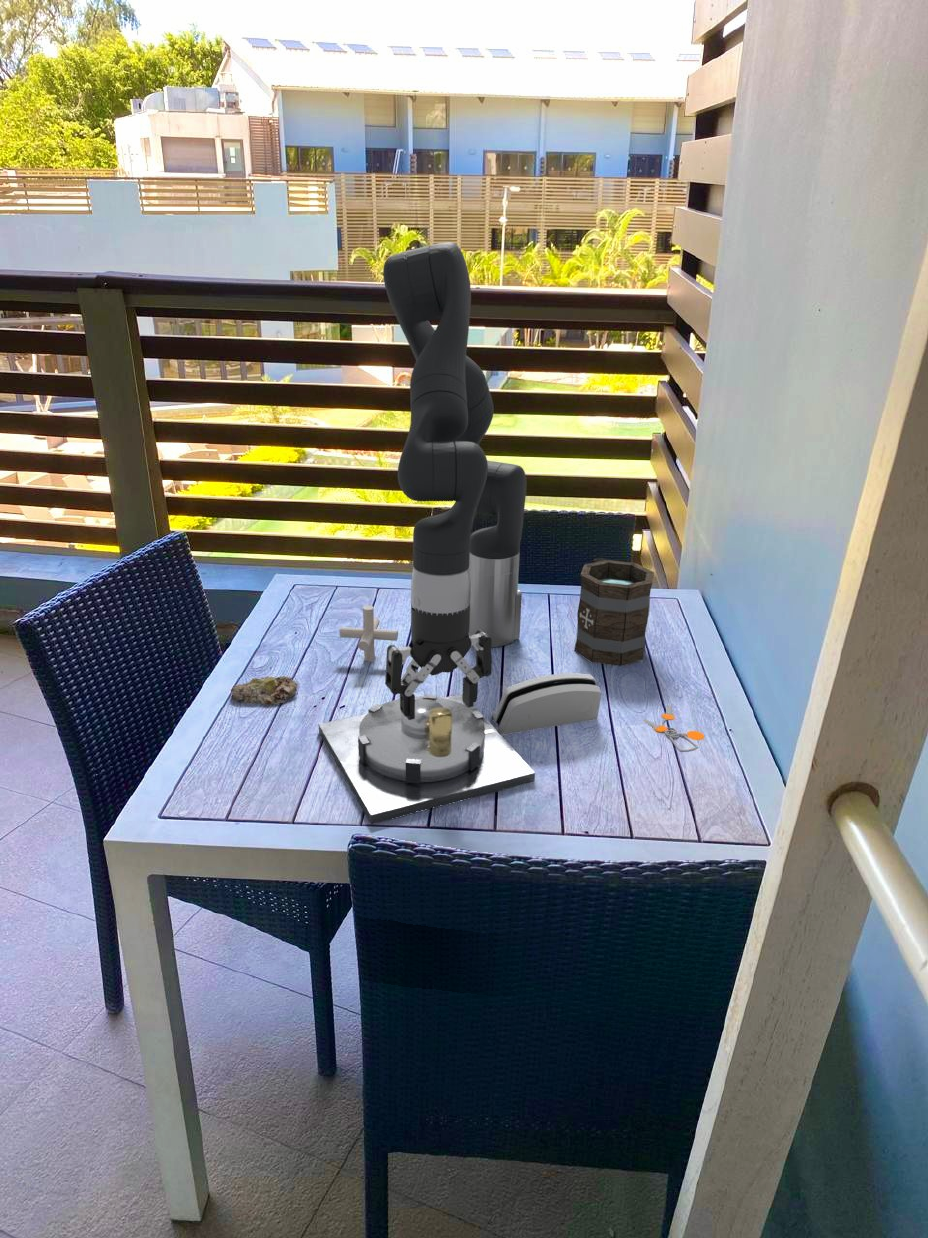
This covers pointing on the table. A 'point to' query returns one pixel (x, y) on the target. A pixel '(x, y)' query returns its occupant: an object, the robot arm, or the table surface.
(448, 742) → the silver disc
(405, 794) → the base plate
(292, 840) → the table surface
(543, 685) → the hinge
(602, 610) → the mug
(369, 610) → the pipe connector
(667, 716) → the key chain
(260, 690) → the mineral rock
